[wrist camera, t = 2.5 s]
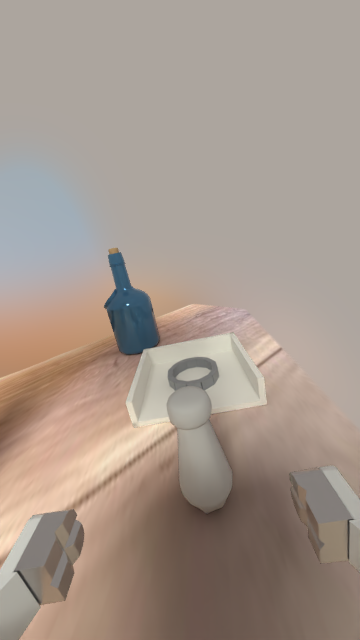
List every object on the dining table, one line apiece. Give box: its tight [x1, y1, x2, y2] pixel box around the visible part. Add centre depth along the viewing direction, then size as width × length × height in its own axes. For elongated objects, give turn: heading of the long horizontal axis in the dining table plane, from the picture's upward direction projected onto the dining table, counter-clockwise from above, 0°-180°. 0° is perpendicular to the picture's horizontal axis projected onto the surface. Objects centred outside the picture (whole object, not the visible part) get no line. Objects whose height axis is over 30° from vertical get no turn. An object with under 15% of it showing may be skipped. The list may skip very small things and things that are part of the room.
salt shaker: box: [166, 386, 232, 514], centre depth 23 cm, size 6×6×13 cm
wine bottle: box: [104, 248, 160, 355], centre depth 67 cm, size 14×13×30 cm
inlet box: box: [126, 332, 267, 428], centre depth 45 cm, size 20×22×5 cm
